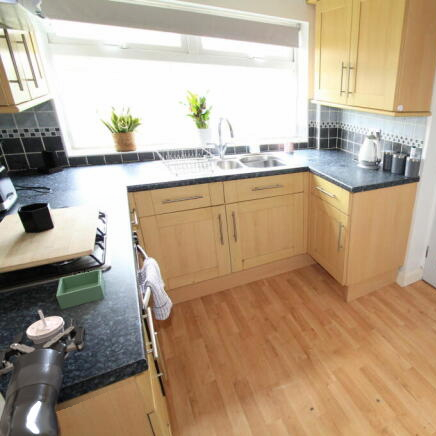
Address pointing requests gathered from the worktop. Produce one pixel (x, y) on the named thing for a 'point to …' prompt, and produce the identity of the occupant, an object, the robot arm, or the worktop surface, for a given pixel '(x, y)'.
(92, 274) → the green open box
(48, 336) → the smoothie
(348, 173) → the worktop surface
